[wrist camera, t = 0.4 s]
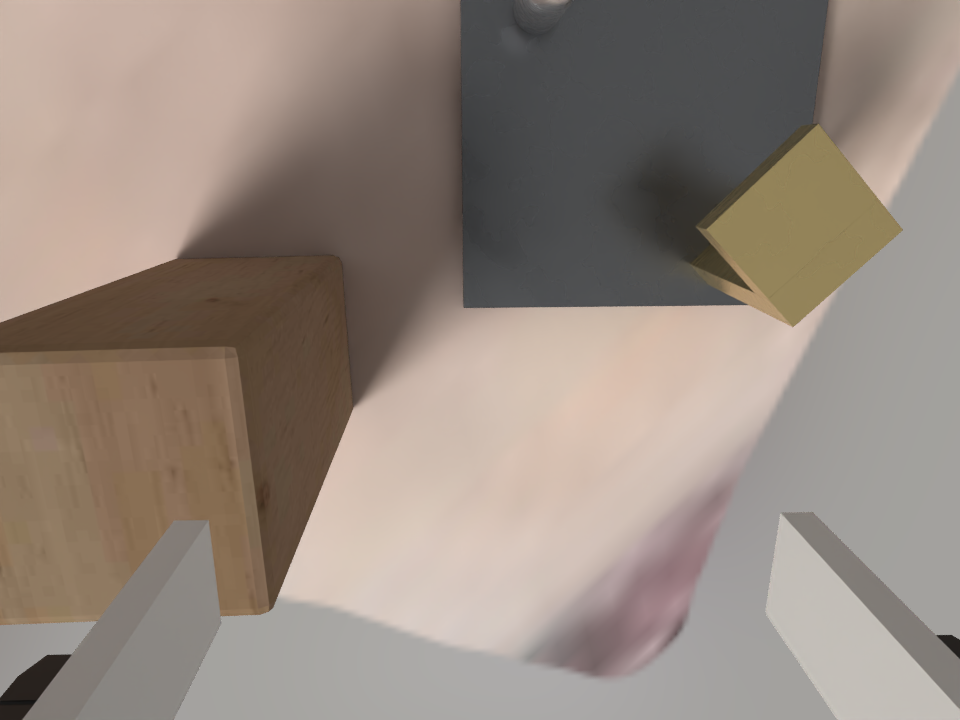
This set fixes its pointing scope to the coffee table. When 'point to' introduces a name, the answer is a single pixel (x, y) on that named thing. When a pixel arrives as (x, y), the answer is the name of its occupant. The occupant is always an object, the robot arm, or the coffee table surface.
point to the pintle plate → (654, 157)
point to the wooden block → (168, 428)
